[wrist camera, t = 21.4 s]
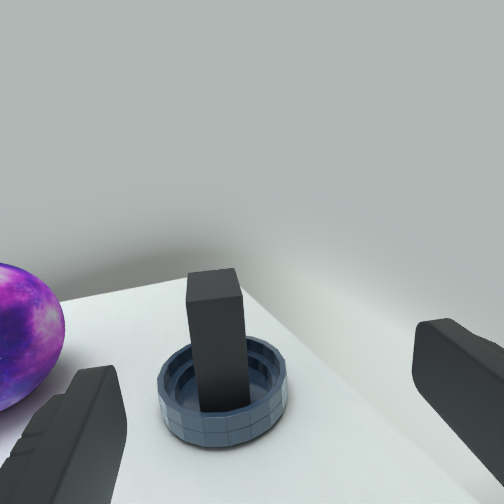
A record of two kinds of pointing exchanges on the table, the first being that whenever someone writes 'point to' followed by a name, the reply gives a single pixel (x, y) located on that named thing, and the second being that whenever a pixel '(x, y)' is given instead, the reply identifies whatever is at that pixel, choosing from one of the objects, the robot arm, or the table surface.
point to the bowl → (232, 422)
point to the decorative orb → (26, 333)
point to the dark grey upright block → (218, 340)
